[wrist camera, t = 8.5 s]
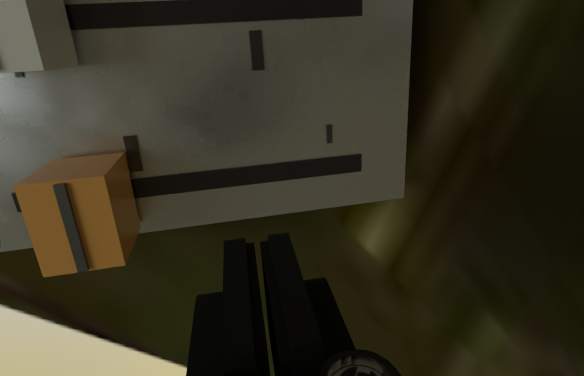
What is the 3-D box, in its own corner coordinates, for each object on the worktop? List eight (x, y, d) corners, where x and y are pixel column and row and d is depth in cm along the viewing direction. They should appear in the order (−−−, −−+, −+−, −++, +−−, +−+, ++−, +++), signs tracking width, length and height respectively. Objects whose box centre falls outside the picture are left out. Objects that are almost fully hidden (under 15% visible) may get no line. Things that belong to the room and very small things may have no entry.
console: (392, -44, 20) (416, -57, 18) (386, 184, 25) (404, 198, 23) (-99, -33, 17) (-152, -47, 14) (-3, 233, 21) (-31, 256, 19)
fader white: (54, -38, 15) (4, -66, 12) (79, 66, 17) (41, 70, 13) (-35, -36, 15) (-117, -65, 11) (-2, 71, 16) (-65, 77, 13)
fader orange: (124, 152, 18) (102, 177, 15) (140, 227, 20) (124, 267, 16) (52, 159, 18) (10, 187, 14) (74, 235, 19) (41, 280, 15)
